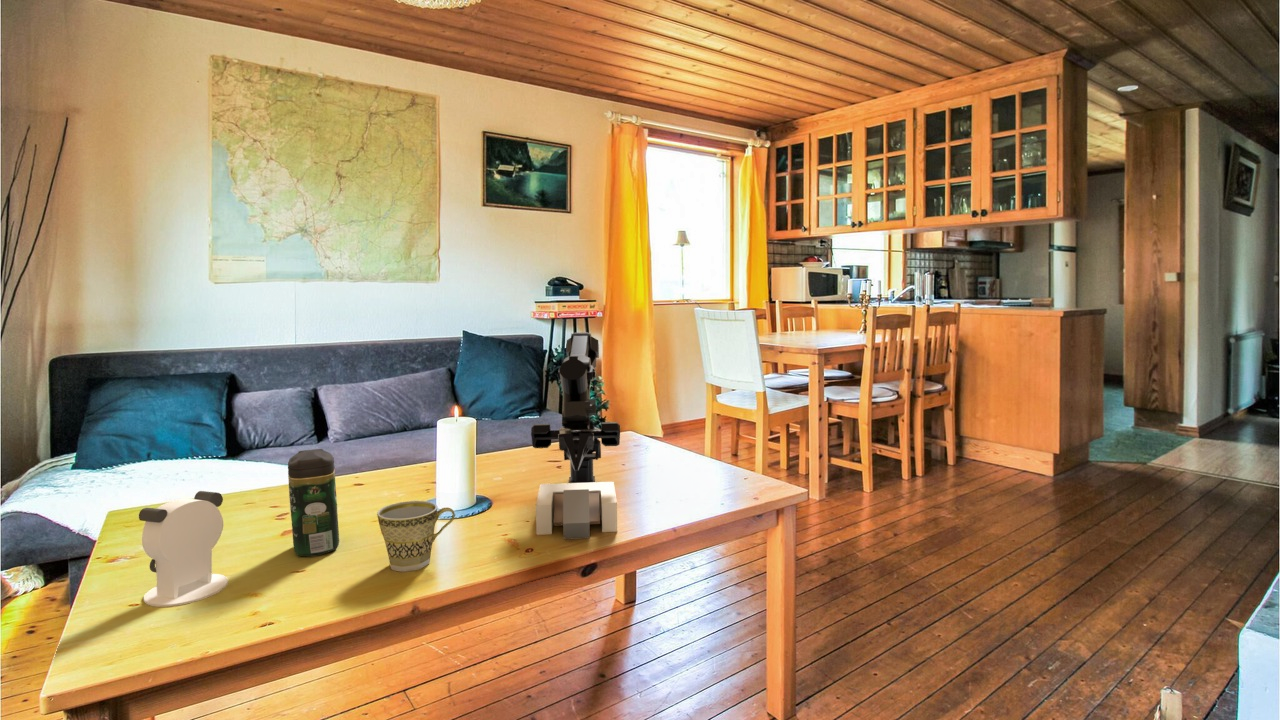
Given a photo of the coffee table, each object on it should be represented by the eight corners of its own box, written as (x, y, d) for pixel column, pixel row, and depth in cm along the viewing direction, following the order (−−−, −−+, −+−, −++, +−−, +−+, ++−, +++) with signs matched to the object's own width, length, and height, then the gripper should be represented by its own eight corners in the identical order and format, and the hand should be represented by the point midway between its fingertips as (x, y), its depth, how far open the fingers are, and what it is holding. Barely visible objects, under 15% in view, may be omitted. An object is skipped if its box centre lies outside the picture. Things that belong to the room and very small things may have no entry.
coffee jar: (293, 543, 128) (287, 448, 127) (338, 536, 132) (333, 444, 130) (292, 561, 120) (285, 460, 118) (340, 553, 123) (334, 455, 121)
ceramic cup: (381, 580, 112) (378, 522, 111) (378, 558, 121) (376, 504, 120) (460, 567, 117) (458, 511, 116) (452, 547, 126) (450, 495, 125)
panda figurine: (196, 570, 116) (189, 486, 115) (247, 578, 113) (241, 492, 111) (125, 601, 105) (117, 508, 103) (180, 610, 101) (172, 515, 100)
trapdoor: (554, 494, 140) (554, 492, 139) (598, 493, 141) (598, 490, 140) (553, 525, 133) (553, 522, 132) (600, 523, 133) (600, 521, 133)
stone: (563, 490, 132) (563, 523, 126) (588, 489, 133) (589, 522, 127) (564, 505, 136) (563, 539, 129) (588, 504, 136) (589, 538, 130)
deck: (540, 510, 146) (540, 484, 146) (613, 508, 148) (613, 481, 147) (536, 534, 132) (535, 505, 131) (617, 531, 133) (616, 502, 133)
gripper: (530, 386, 140) (527, 450, 131) (619, 384, 142) (622, 447, 132) (534, 416, 149) (531, 478, 139) (617, 414, 151) (621, 475, 141)
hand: (576, 469), depth 138 cm, fingers closed
